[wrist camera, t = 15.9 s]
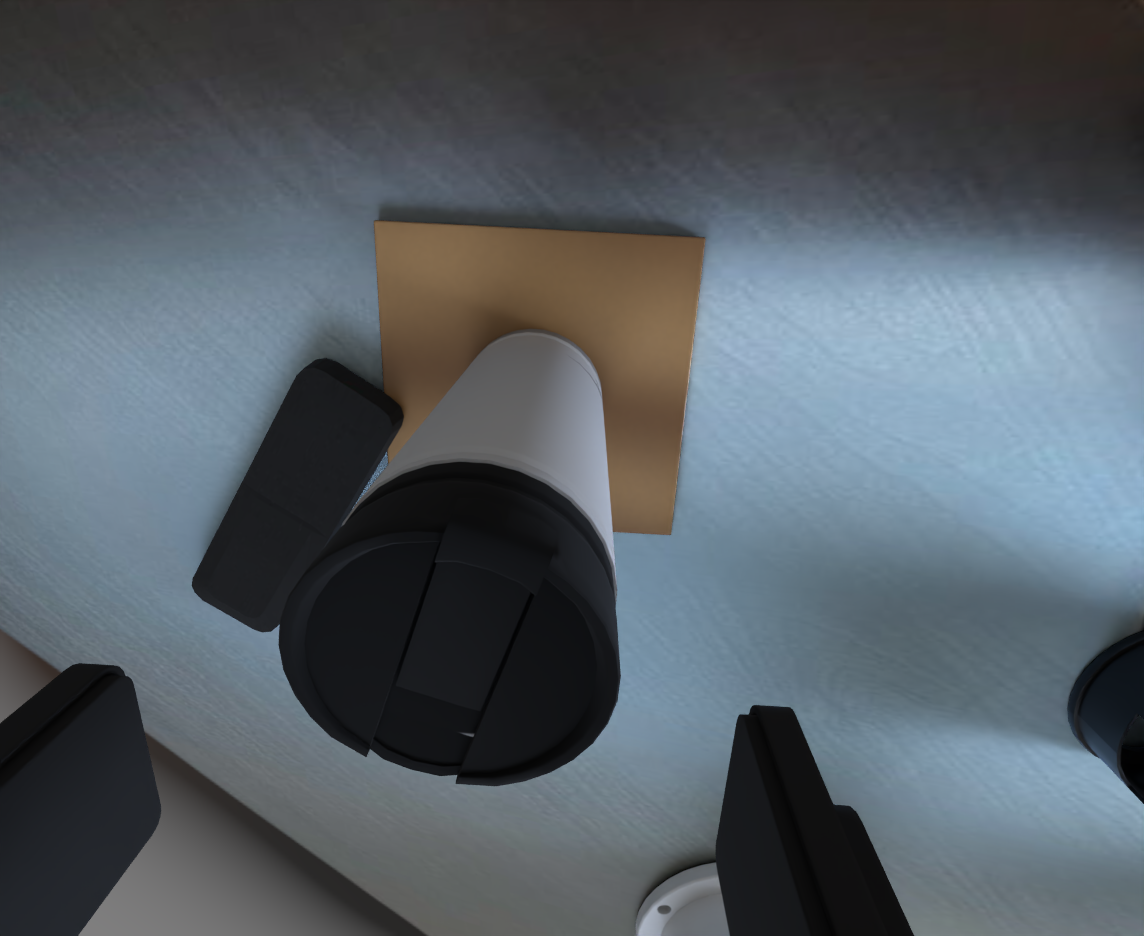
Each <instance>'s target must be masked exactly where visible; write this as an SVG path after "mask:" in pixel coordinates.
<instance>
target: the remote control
mask: <svg viewBox="0 0 1144 936" xmlns="http://www.w3.org/2000/svg"><path fill="white" fill-rule="evenodd" d="M403 419H404V415H403V411H402V408H401V406H400V405H399V404H398V403H397V402H396V401H395V400H393V399H392V398H391V397H390V396H388V395H387V394H385V393H384V392H382V391H381V390H379V389H378V388H376V387H374V386H373V385H371V384H370V383H368V382H367V381H365V380H364V379H362V378H361V377H359V376H358V375H356V374H354V373H353V372H351V371H350V370H348V369H347V368H345V367H344V366H342V365H341V364H339V363H338V362H336V361H333V360H330V359H327V358H323V359H317V360H315V361H314V362H312V363H311V364H309V365H308V366H307V367H305V368H304V369H303V370H302V371H301V372H300V373H299V374H298V375H297V376H296V378H295V380H294V382H293V383H292V385H291V387H290V389H289V391H288V393H287V395H286V397H285V399H284V401H283V403H282V405H281V407H280V409H279V411H278V413H277V415H276V417H275V419H274V421H273V423H272V425H271V427H270V428H269V430H268V432H267V434H266V436H265V438H264V440H263V442H262V444H261V446H260V448H259V450H258V452H257V454H256V456H255V458H254V460H253V462H252V464H251V466H250V468H249V470H248V472H247V473H246V475H245V477H244V479H243V481H242V483H241V485H240V487H239V489H238V491H237V493H236V495H235V497H234V499H233V501H232V503H231V505H230V507H229V509H228V511H227V513H226V515H225V517H224V518H223V520H222V522H221V524H220V526H219V528H218V530H217V532H216V534H215V536H214V538H213V540H212V542H211V544H210V546H209V548H208V550H207V552H206V554H205V556H204V558H203V560H202V562H201V563H200V565H199V567H198V569H197V571H196V573H195V575H194V577H193V581H192V587H193V589H194V592H195V593H196V594H197V595H198V596H199V597H200V598H201V599H202V600H203V601H205V602H207V603H209V604H210V605H212V606H214V607H216V608H217V609H219V610H221V611H223V612H224V613H226V614H228V615H230V616H231V617H233V618H235V619H236V620H238V621H240V622H242V623H243V624H245V625H247V626H249V627H250V628H252V629H254V630H257V631H260V632H271V631H272V630H273V629H274V628H276V627H277V626H278V625H279V624H280V618H281V616H282V613H283V610H284V607H285V604H286V601H287V598H288V595H289V594H290V592H291V591H292V590H293V588H294V587H295V585H296V584H297V582H298V581H299V580H300V578H301V577H302V575H303V574H304V572H305V571H306V570H307V569H308V567H309V566H310V565H311V564H312V563H313V561H314V560H315V559H316V558H317V556H318V555H319V554H320V553H321V551H322V550H323V549H324V548H325V546H326V545H327V544H328V543H329V541H330V540H331V539H332V538H333V536H334V535H335V534H336V533H337V531H338V530H339V529H340V528H341V526H342V524H343V522H344V521H345V519H346V518H347V516H348V515H349V513H350V512H351V510H352V508H353V507H354V505H355V503H356V502H357V500H358V498H359V497H360V495H361V493H362V492H363V490H364V488H365V487H366V485H367V483H368V482H369V480H370V478H371V477H372V475H373V473H374V472H375V470H376V468H377V467H378V465H379V463H380V462H381V460H382V458H383V457H384V455H385V453H386V452H387V450H388V448H389V447H390V445H391V443H392V442H393V440H394V438H395V437H396V435H397V433H398V432H399V430H400V428H401V427H402V423H403Z"/></svg>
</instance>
